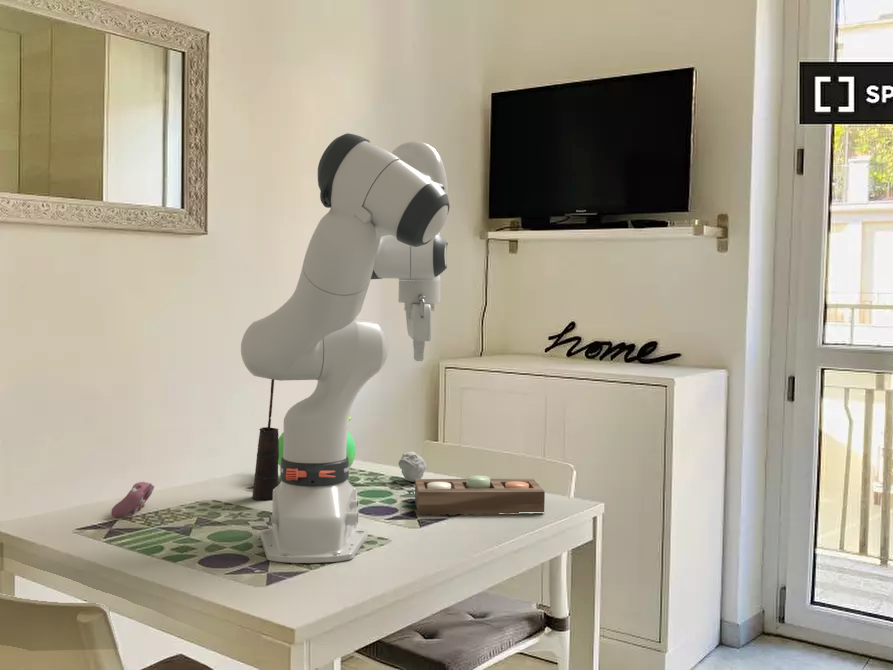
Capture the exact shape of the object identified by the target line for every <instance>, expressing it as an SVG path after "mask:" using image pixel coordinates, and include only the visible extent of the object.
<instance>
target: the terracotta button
mask: <svg viewBox="0 0 893 670" xmlns="http://www.w3.org/2000/svg"><path fill="white" fill-rule="evenodd" d="M505 488H529V484H528V483H526V482H520V481H511V482H506V483H505Z"/></svg>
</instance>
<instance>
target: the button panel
mask: <svg viewBox="0 0 893 670" xmlns="http://www.w3.org/2000/svg"><path fill="white" fill-rule="evenodd" d="M511 481H520V482H526V483H528V484H529V488H505V483H506V482H511ZM430 482H447V483H450V484H451V489H427V484H428V483H430ZM414 484H415V485H414V503H415V507H416V510H417V515H418V516H423V515H422V514H432V515H431V516H434V515H435V514H436V515H435V516H437V515H439V516H441V515H444V516H445V515H446V514H449V515H450V516H451V514H453V516H455V514H476V515H500V514H499V513H519V512H544V513H545V503H546V502H545V500H546V499H545V493H546V491H545V490H544V489H543V488H542V487H541V486H540V485H539V483H538V482H537V481H536V479H534V478H490V488H474V489H466V485H467V478H421V479H415V482H414ZM440 514H441V515H440ZM449 515H448V516H449ZM446 516H447V515H446Z"/></svg>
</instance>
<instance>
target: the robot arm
mask: <svg viewBox="0 0 893 670" xmlns="http://www.w3.org/2000/svg"><path fill="white" fill-rule="evenodd" d="M317 184H318V189H319V190H320V194H319V195H320V196H319V200H320V202H321V204H322V205H323V206H324V207H325V208H328V209H329V211H328V212H327V213H325V215H324V216H323V217H321V219H320V221H319V222H318V224H317V226H316V228H315V230H314V231H313V234H312V236H311V238H310V240H309V242H308V246H307V249H306V252H305V255H304V259H303V262H302V267H301V271H300V275H299V278H298V281H297V285H296V287H295V289H294V291H293V293H292V295H291V296H290V297H289V299H288V300H287V301H286V302H285V303H284V304H283V305H281V306H280V307H278V309H276V310H275V311H273V312H272V313H270V314H269V315H267V316H265V317H262V318H260V319H258V320H255V321H253V322H252V323H250V325H249V326H248V327H247V328H246V330H245V332H244V334H243V336H242V340H241V342H240V343H241V344H240V354H241V358H242V361H243V364H244V366H245V367H246V369H247V370H248V372H249V373H250V374H251V375H252V376H254V377H258V378H262V379H268V380H272V379H273V380H274V381H317V384H316V387H315V389H314V391H313V392H312V393H311V394H310V395H309V396H307V397H306V398H304V399H302V400H301V401H298V402H297V403H295V404H293V405H292V406H291V407H289V409H288V410H287V412H286V413H285V415H284V418H283V432H284V436H283V457H282V458H281V465H280V466H279V471H280V477H279V479H280V483H278V486H277V487H275V489H273V499H272V513H271V514H272V515H269V520H268V522H269V523H270V524H272V525H271V527H270V528H266V529H262V530H261V531H260V535H259V539H260V542H261V544H262V545H261V546H262V548H263V551H264V553H265V556H266V557H265V558H266V559H267V560H268V561H272V562H278V563H279V562H280V563H293V564H295V563H296V564H299V563H301V564H304V563H305V564H311V563H312V564H313V563H314V564H316V563H334V562H343V561H347V560H348V561H349V560H352V559H354V557H355V555H356V554H357V553H358V551H359V550H360V548H361V547H362V546H363V544H364V542H365V541H366V539H367V538H368V536H369V535H368V533H369V532H368V529H366V528H363V527H362V528H361V527H359V526H358V525H359V512H358V508H359V500H358V498H357V496H358V495H357V494H358V491H357V488H355V487H354V486H353V485H352V484H351V483H350V481H349V477H350V468H349V458H348V457H347V456H346V449H347V431H348V428H349V422H348V420H349V417H350V413H351V409H352V407H353V404H354V401H355V399H356V398H357V396H358V394H359V393H360V391H361V389H362V388H363V387H364V386H365V384H366V383H367V382H368V381H369V380H371V379H372V378H373V377H374V376H375V375H376V374H378V373H379V372H380V371H381V369H382V368H383V367H384V365H385V363H386V360H387V358H388V355H389V354H388V353H389V343H388V339H387V336H386V334H385V332H384V330H383V328H382V327H381V326H380V325H379V324H378V323H377V322H376V321H371V320H367V319H363V318H357V317H358V316H359V315H360V313H361V311H362V310H363V309H362V308H363V304H364V302H365V299H366V295H367V292H368V289H369V286H370V282H371V281H372V280H383V279H396V280H397V279H398V303H400V304H402V303H403V305H404V307H403V308H404V311H405V318H406V329H407V334H408V336H409V337H410V339H412V343H413V344H412V345H413V359H414V360H415V361H416V362H423V360H424V353H425V347H426V346H425V345H426V344H425V342H430V341H431V339H432V312H435V304H441V298H442V297H441V295H442V294H441V293H442V292H441V291H442V289H441V288H442V286H441V285H442V281H441V280H442V279H441V274H442V273H443V272H445V270H447V268H448V265H447V249H448V242H447V240H445V239H444V237H443V236H441V231H442V229H443V227H444V225H445V223H446V222H447V218H448V214H449V212H450V207H451V206H450V200H449V196H448V195H449V193H448V192H449V189H448V186H449V184H448V178H447V172H446V169H445V165H444V162H443V160H442V157H441V155H440V154H439V153H438V151H437V150H436V149H435V148H434V147H433V146H431V145H430V144H428V143H426V142H423V141H417V140H413V141H412V140H411V141H406V142H404V143H401V144H400V145H398V146H396V147H395V148H394V149H393V150H392V151H391V152H390V151H388V150H386V149H384V148H382V147H380V146H379V145H376V144H373V143H372V142H371V141H370V140H369V139H368V138H366V137H364V136H360V135H357V134H353V133H347V132H346V133H345V134H342V135H340V136H338V137H336V138H334V139H333V140H332V141H331V142H330V143H329V145H328V146H327V147H326V149H325V150H324V152H323V154H322V155H321V157H320V160H319V162H318V165H317Z"/></svg>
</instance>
